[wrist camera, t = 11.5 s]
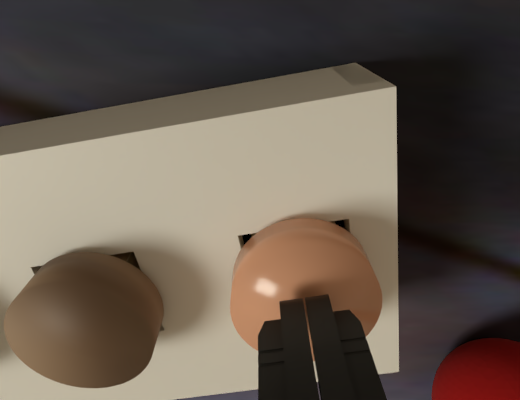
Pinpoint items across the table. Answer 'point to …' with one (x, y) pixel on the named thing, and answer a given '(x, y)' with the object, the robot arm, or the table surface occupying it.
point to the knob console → (200, 210)
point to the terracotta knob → (301, 275)
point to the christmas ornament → (480, 371)
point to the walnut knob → (86, 320)
